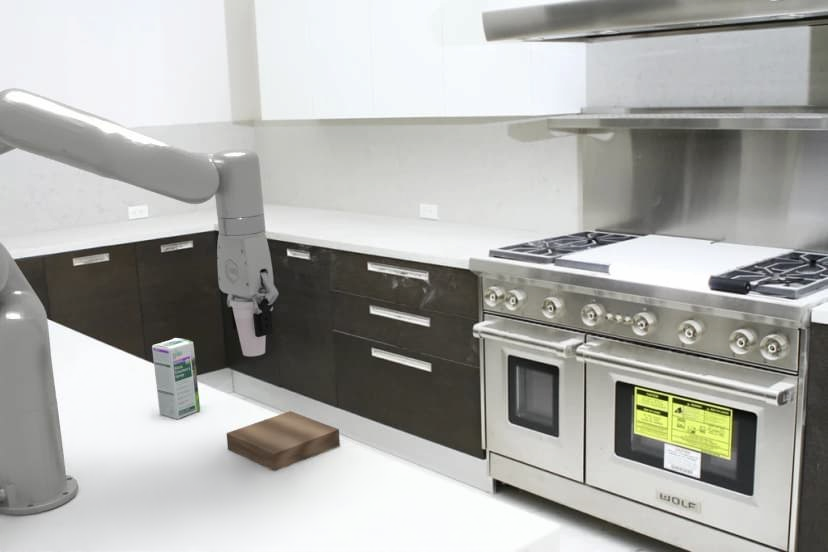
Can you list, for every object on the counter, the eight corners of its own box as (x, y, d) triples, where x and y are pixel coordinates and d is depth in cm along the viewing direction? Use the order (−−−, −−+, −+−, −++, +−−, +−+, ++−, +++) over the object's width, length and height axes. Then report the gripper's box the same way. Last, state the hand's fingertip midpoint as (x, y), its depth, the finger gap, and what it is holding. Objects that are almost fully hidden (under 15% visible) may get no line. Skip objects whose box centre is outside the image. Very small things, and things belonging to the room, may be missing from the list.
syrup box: (177, 420, 172) (170, 348, 169) (158, 414, 176) (151, 343, 173) (200, 411, 177) (194, 340, 174) (181, 405, 180) (175, 336, 177)
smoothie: (230, 351, 152) (222, 271, 149) (266, 344, 155) (259, 266, 152) (240, 361, 146) (233, 278, 143) (278, 354, 149) (271, 272, 146)
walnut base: (275, 470, 148) (274, 453, 147) (227, 449, 157) (226, 433, 157) (339, 445, 157) (338, 429, 157) (291, 426, 167) (290, 411, 166)
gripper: (193, 225, 149) (205, 328, 153) (252, 234, 137) (263, 346, 141) (232, 219, 155) (242, 319, 158) (292, 226, 142) (301, 335, 146)
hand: (252, 330), depth 150 cm, fingers closed on smoothie, 6 cm apart
